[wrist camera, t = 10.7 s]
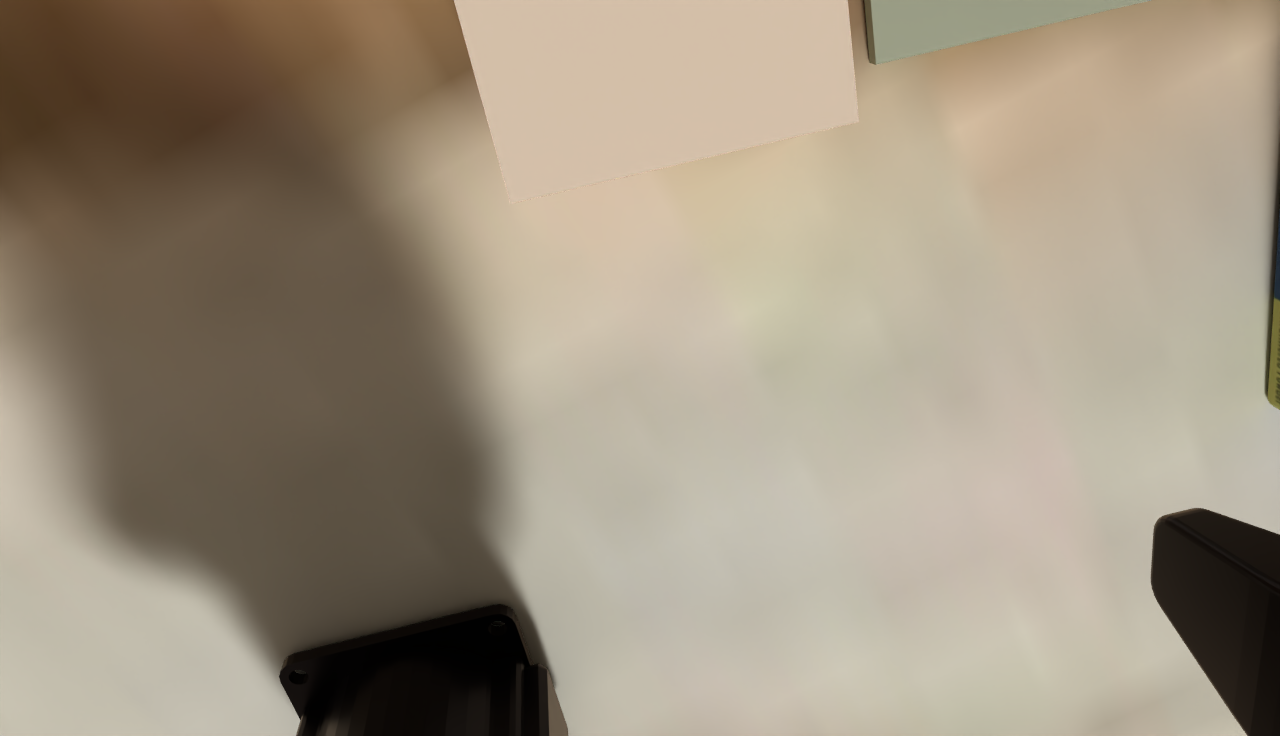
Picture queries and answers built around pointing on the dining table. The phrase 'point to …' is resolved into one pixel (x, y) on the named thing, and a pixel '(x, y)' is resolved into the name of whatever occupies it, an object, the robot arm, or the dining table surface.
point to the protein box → (1275, 337)
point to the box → (651, 82)
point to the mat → (962, 22)
